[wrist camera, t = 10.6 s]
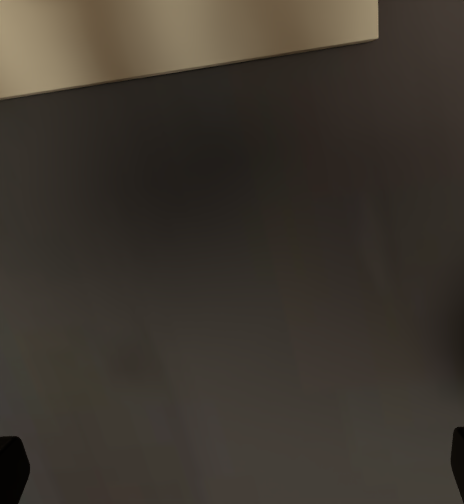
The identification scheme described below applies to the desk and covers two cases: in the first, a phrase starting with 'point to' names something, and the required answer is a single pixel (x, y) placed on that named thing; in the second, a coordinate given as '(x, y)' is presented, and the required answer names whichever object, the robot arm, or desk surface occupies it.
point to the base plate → (162, 37)
